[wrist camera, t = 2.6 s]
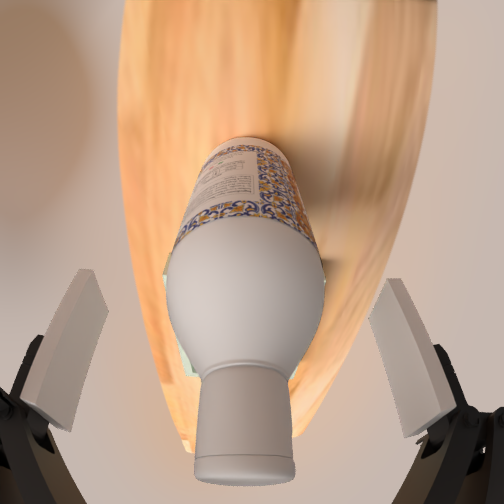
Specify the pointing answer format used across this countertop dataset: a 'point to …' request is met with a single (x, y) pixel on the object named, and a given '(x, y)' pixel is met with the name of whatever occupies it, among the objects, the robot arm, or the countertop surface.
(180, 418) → the countertop surface
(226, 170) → the bath foam
